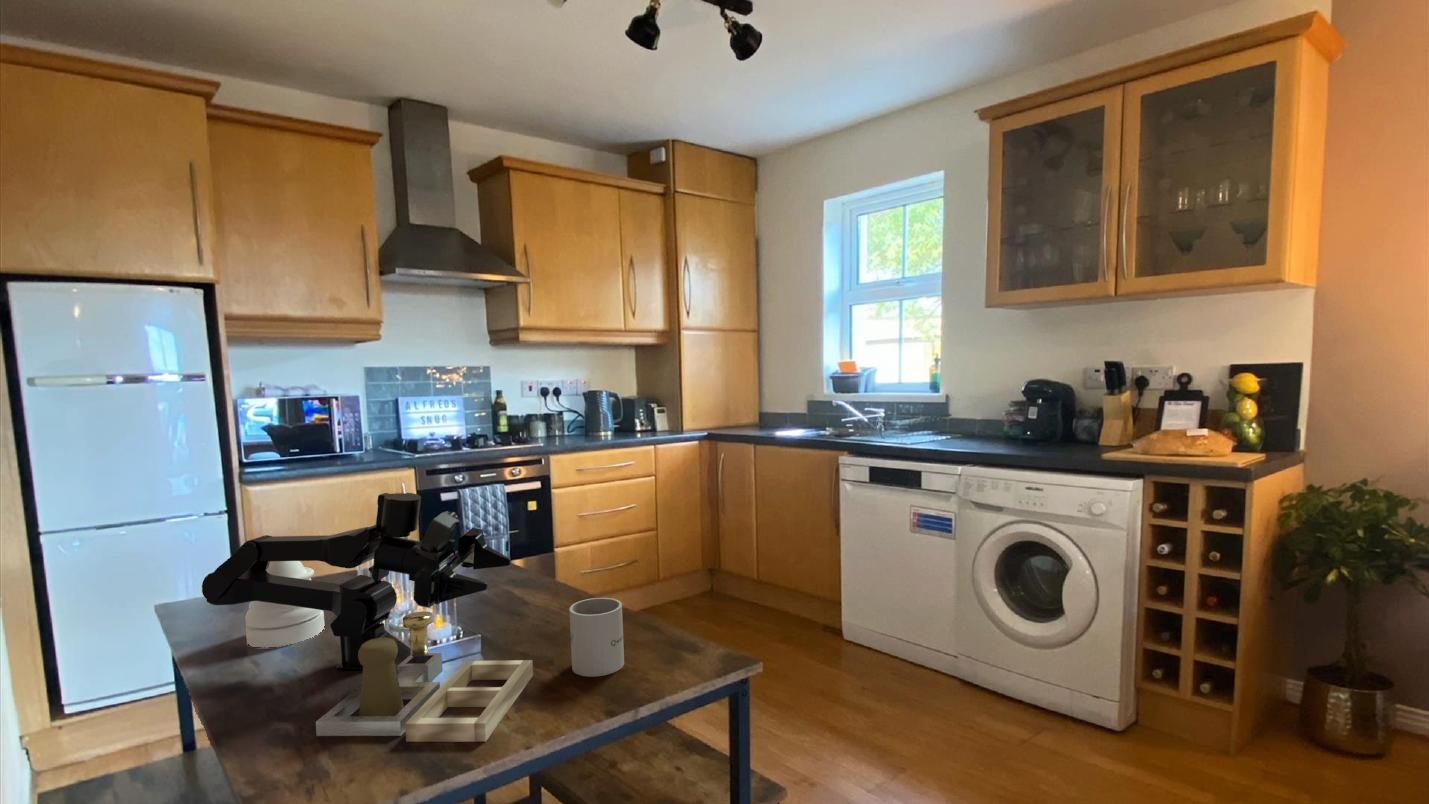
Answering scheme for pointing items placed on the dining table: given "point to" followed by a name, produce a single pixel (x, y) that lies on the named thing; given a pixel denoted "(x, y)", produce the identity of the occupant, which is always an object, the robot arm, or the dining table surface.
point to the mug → (596, 636)
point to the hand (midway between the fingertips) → (499, 574)
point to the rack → (470, 702)
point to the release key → (418, 631)
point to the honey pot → (282, 614)
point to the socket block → (413, 685)
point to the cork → (379, 678)
